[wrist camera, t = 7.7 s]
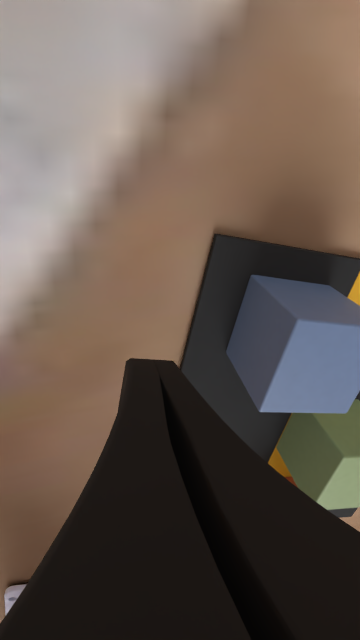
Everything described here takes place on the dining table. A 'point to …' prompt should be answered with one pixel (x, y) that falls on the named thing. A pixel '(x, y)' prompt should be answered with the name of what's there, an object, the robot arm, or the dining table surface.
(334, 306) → the blue block
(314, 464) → the sage block
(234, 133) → the dining table surface
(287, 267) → the line mat
